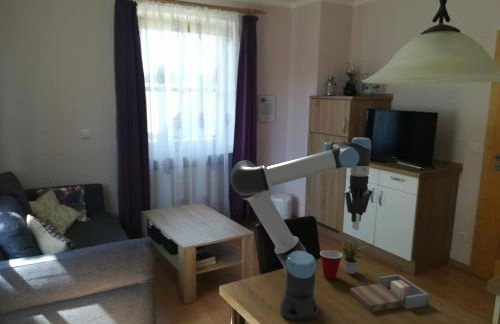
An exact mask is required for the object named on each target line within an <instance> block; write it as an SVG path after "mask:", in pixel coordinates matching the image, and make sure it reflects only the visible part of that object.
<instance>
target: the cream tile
mask: <svg viewBox="0 0 500 324" xmlns="http://www.w3.org/2000/svg"><path fill="white" fill-rule="evenodd" d="M389 288H390V289H389V290H391V291H392V292H394V293H395V294H396V295H398V296H399V297H400V298H402V299H403V300H404V293H405V287H404V286H403V285H401V284H400V283H398V282H397V281H391V287H389ZM404 301H405V300H404Z"/></svg>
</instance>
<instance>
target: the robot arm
mask: <svg viewBox="0 0 500 324" xmlns="http://www.w3.org/2000/svg"><path fill="white" fill-rule="evenodd" d="M371 151H372V140H371V139H370V138H369V137H353V138H352V140H351V141H350V142H346V141H345V142H343V141H342V142H339V141H326V142H324V143H323V145H322V152H318V153H314V154H311V155H310V154H309V155H307V156H304V157H300V158H296V159H293V160H292V159H291V160H289V161H284V162H281V163H278V164H273V165H270V166H266V165H260V166H257V165H256V164H255V163H253V162H252V161H249V160H241V161H239V162H237V163H236V164H234V166H233V167H232V169H231V171H230V184H231V186H232V188H233V190H234V191H235V192H236V193H237V194H239V195H240V196H241V198H242V200H245V201H247V202H248V203H249V204H250V207H251V208H252V209H253V212H254V213H255V215H256V216H257V218H258V220H259V222H260V223H261V225H262V227H264V229H265V231H266V233H267V235H268V236H269V238H270V240H271V241H272V243H273V244H274V252H275V255H276V256H277V258H278V260H279V261H280V262H281V265H282V266H283V271H284V275H285V279H284V283H285V284H284V294H283V295H282V298H281V301H280V304H279V312H280V314H281V316H282V317H283V318H285V319H287V320H288V321H289V320H290V321H293V322H296V323H297V322H298V323H305V322H306V323H307V322H310V321H313V320H314V319H315V318H316V317H317V316H318V314H319V313H318V311H319V308H318V304H317V301H316V296H315V289H316V288H315V285H316V270H317V262H316V258H315V257H314V255H312V254H311V253H309V252H307V249H306V247H305V246H304V245H303V244H302V242H301V240H300V239H299V237H298V236H297V235H296V236H295V235H293V234H292V233H291V231H290V228H289V227H288V225H287V224H286V222H285V220H284V218H283V217H282V215H281V214H280V212H279V210H278V209H277V207H276V205H275V204H274V202H273V200H272V199H271V197H270V195H269V194H268V192H267V191H270V190H271V189H272V187H275V186H277V185H278V186H279V185H282V184H285V183H286V184H287V183H289V182H290V183H291V182H293V181H296V180H299V179H301V180H302V179H305V178H308V177H311V176H316V175H319V174H323V173H326V172H330V171H333V170H337V169H338V170H339V169H342V168H346V169H348V168H350V169H349V171H350V172H349V173H350V174H349V186H348V189H347V190H344V191H343V195H344V197H345V202H346V203H345V204H346V210H347V213H349V214H351V215H350V217H351V218H350V219H351V222H352V223H351V228H352V229H353V230H355V231H359V227H360V222H361V220H362V216H363V215H364V214H365V213H366V212H367V209H368V205H369V202H370V198H371V195H373V190H371V189H369V186H368V184H369V178H370V177H369V174H370V162H371V153H372V152H371ZM316 319H317V318H316Z"/></svg>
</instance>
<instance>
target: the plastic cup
mask: <svg viewBox="0 0 500 324" xmlns="http://www.w3.org/2000/svg"><path fill="white" fill-rule="evenodd" d="M319 255H320V257H321V264H322V273H323V278H325V279H327V280H335V279H336V278H337V274H338V271H339V267H340V262H341V260H342V257H343V255H344V254H343V253H341V252H339V251H336V250H322V251H320V252H319Z"/></svg>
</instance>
